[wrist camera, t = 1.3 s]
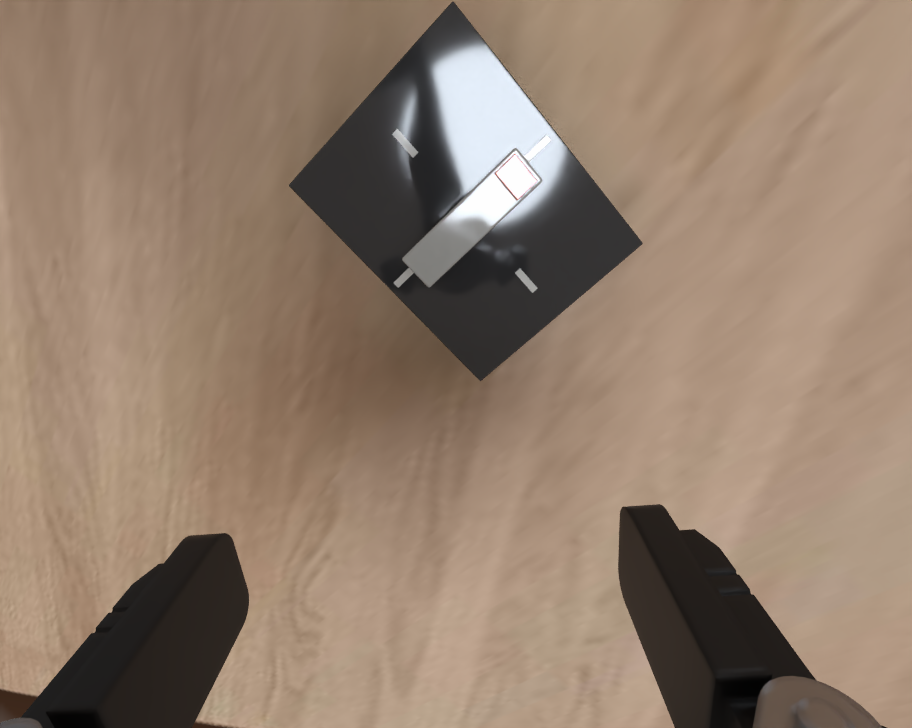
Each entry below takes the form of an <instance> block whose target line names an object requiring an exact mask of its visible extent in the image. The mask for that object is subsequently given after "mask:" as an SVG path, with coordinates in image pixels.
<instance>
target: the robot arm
mask: <svg viewBox="0 0 912 728" xmlns="http://www.w3.org/2000/svg"><path fill="white" fill-rule="evenodd" d="M618 571H619V580H620V586H621V591H622V595H623V598H624V601H625V604H626V606H627V609H628V611H629V614H630V616H631V619H632V621H633V624H634V626H635V629H636V631H637V634H638V636H639V639H640V641H641V644H642V646H643V649H644V651H645V654H646V656H647V659H648V661H649V664H650V666H651V669H652V671H653V674H654V676H655V679H656V681H657V684H658V686H659V689H660V691H661V694H662V696H663V699H664V701H665V704H666V706H667V709H668V711H669V714H670V716H671V719H672V721H673V724H674V726H675V728H886V727H884V726H881V725H880V724H879V723H878V722H877V721H876V720H875V719H874V718H873V716H872V715H871V714H870V713H869V712H867V711H866V710H865V709H864V708H863V707H862V706H861V705H860V704H858V703H857V702H855V701H854V700H853V699H851V698H850V697H849V696H847V695H845V694H844V693H842V692H840V691H839V690H837V689H835V688H833V687H831V686H829V685H827V684H824V683H822V682H819V681H817V680H816V679H815V678H814V677H813V675H812V674H811V673H810V672H809V670H808V669H807V667H806V666H805V665H804V663H803V662H802V661H801V659H800V658H799V656H798V655H797V654H796V652H795V651H794V650H793V648H792V647H791V645H790V644H789V643H788V641H787V640H786V639H785V637H784V636H783V634H782V633H781V632H780V630H779V629H778V628H777V626H776V625H775V623H774V622H773V621H772V619H771V618H770V617H769V615H768V614H767V612H766V611H765V610H764V608H763V607H762V606H761V604H760V603H759V601H758V600H757V599H756V597H755V596H754V595H751V593H750V589H749V588H748V586H747V585H746V584H745V582H744V581H743V579H742V578H741V577H740V575H737V574H736V570H735V568H734V567H733V566H732V564H731V563H730V562H729V560H728V559H727V557H726V556H725V555H724V553H723V552H722V551H721V549H720V548H719V547H718V546H716V545H715V544H714V543H712V542H711V541H710V540H708V539H707V538H706V537H704V536H703V535H702V534H700V533H699V532H697V531H696V530H695V529H693V530H679V529H678V527H677V526H676V524H675V523H674V521H673V520H672V518H671V516H670V515H669V513H668V512H667V510H666V509H665V508H664V506H662V505H660V504H658V505H644V506H629V507H622V509H621V511H620V528H619V562H618ZM248 606H249V594H248V589H247V585H246V582H245V579H244V575H243V572H242V569H241V565H240V562H239V559H238V556H237V552H236V549H235V546H234V542H233V540H232V538H231V537H230V535H228V534H226V533H222V534H207V535H193V536H188V537H186V538H185V539H183V540H182V541H181V543H180V544H179V545H178V546H177V548H176V549H175V550H174V551H173V553H172V554H171V555H170V556H169V558H168V559H167V560H166V561H165V563H164V564H158V565H157V566H156V567H154V568H153V569H152V570H150V571H149V572H148V573H147V574H145V575H144V576H143V577H141V578H140V579H139V580H138V581H136V582H135V583H134V584H132V585H131V587H130V588H129V589H128V590H127V591H126V593H125V594H124V595H123V596H122V597H121V599H120V600H119V601H118V602H117V603H116V605H115V606H114V607H113V611H112V613H108V614H107V615H106V617H105V618H104V619H103V620H102V621H101V622H100V624H99V625H98V626H97V627H96V632H95V633H91V634H90V636H89V637H88V638H87V639H86V640H85V642H84V643H83V644H82V645H81V646H80V648H79V649H78V650H77V651H76V652H75V654H74V655H73V656H72V657H71V658H70V659H69V661H68V662H67V663H66V664H65V665H64V667H63V668H62V669H61V670H60V671H59V673H58V674H57V675H56V676H55V677H54V679H53V680H52V681H51V682H50V683H49V685H48V686H47V687H46V688H45V689H44V691H43V692H42V693H41V694H40V695H39V696H38V698H37V699H36V700H35V701H34V702H33V704H32V705H31V706H30V707H29V709H28V710H27V711H26V712H25V713H24V714H23V716H22V717H21V718H16V719H12V720H7V721H5V722H2V723H0V728H192V726H193V724H194V722H195V720H196V718H197V716H198V714H199V712H200V710H201V708H202V706H203V704H204V702H205V700H206V698H207V696H208V694H209V692H210V691H211V689H212V687H213V685H214V683H215V681H216V679H217V677H218V675H219V673H220V671H221V669H222V667H223V665H224V663H225V661H226V659H227V657H228V655H229V653H230V651H231V649H232V647H233V645H234V643H235V641H236V639H237V637H238V635H239V633H240V631H241V629H242V627H243V625H244V622H245V620H246V616H247V612H248Z"/></svg>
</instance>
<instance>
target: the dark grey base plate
mask: <svg viewBox="0 0 912 728" xmlns="http://www.w3.org/2000/svg"><path fill="white" fill-rule="evenodd" d="M514 148H517V149H518V150H519V151H520V152H521V154H522V155H523V156H524V157H525V159H526V160H527V161H528V162H529V163H530V165H531V166H532V167H533V168H534V170H535V171H536V172H537V173H538V175H539V176H540V177H541V178H542V182H541V183H540V184H539V185H538V186H537V187H536V188H535V189H534V190H533V191H532V192H531V193H530V194H529V195H528V196H527V197H526V198H525V199H523V200H522V201H521V202H520V203H519V204H518V205H517V206H516V207H515V208H514V209H513V210H512V211H511V212H510V213H509V214H508V215H506V216H505V217H504V218H503V219H502V220H501V221H500V222H499V223H498V224H497V225H496V226H495V227H494V228H493V229H492V230H491V231H489V232H488V233H487V234H486V235H485V236H484V237H483V238H482V239H481V240H480V241H479V242H478V243H477V244H476V245H475V246H474V247H472V248H471V249H470V250H469V251H468V252H467V253H466V254H465V255H464V256H463V257H462V258H461V259H460V260H459V261H458V262H457V263H456V264H454V265H453V266H452V267H451V268H450V269H449V270H448V271H447V272H446V273H445V274H444V275H443V276H442V277H441V278H440V279H439V280H437V281H436V282H435V283H434V284H433V285H432V286H431V287H427V286H426V285H425V284H424V283H423V282H422V281H421V280H420V279H419V278H418V276H417V275H416V274H415V273H414V272H413V271H412V270H411V269H410V268H409V267H408V266H407V265H406V264H405V263H404V262H403V260H402V258H403V257H404V256H405V255H406V253H407V252H408V251H409V250H410V249H411V248H412V247H413V246H414V245H415V244H416V243H417V242H418V241H419V240H420V239H421V238H422V237H423V236H424V235H425V234H426V233H427V232H428V231H429V230H430V229H431V228H432V227H433V226H434V225H435V224H436V223H437V222H438V221H439V220H440V219H441V218H442V217H443V216H444V215H445V214H446V213H447V212H448V211H449V210H450V209H451V208H452V207H453V206H454V205H455V204H456V203H457V202H458V201H459V200H461V199H462V198H463V197H464V196H465V195H466V194H467V193H468V192H469V191H470V190H471V189H472V188H473V187H474V186H475V185H476V184H477V183H478V182H479V181H480V180H481V179H482V178H483V177H484V176H485V175H486V174H487V173H488V172H489V171H490V170H491V169H492V168H493V167H494V166H495V165H496V164H497V163H498V162H499V161H500V160H501V159H502V158H503V157H505V156H506V155H507V154H508V153H509V152H510V151H512V150H513V149H514ZM289 186H290V187H291V189H292V190H293V191H294V192H295V193H296V194H297V195H298V196H299V197H300V198H301V199H302V200H303V201H304V202H305V203H306V204H307V205H308V206H309V207H310V208H311V209H312V210H313V211H314V212H315V213H316V214H317V215H318V216H319V217H320V218H321V219H322V220H323V221H324V222H325V223H326V224H327V225H328V226H329V227H330V228H331V229H332V230H333V231H334V232H335V233H336V234H337V235H338V236H339V237H340V239H341V240H342V241H343V242H344V243H345V244H346V245H347V246H348V247H349V248H350V249H351V250H352V251H353V252H354V253H355V254H356V255H357V256H358V257H359V258H360V259H361V260H362V261H363V262H364V263H365V264H366V265H367V266H368V267H369V268H370V269H371V270H372V271H373V272H374V273H375V274H376V275H377V276H378V277H379V278H380V279H381V280H382V281H383V282H384V283H385V284H386V285H387V286H388V287H389V289H390V290H391V291H392V292H393V293H394V294H395V295H396V296H397V297H398V298H399V299H400V300H401V301H402V302H403V303H404V304H405V305H406V306H407V307H408V308H409V309H410V310H411V311H412V312H413V313H414V314H415V315H416V316H417V317H418V318H419V319H420V320H421V321H422V322H423V323H424V324H425V325H426V326H427V327H428V328H429V329H430V330H431V331H432V332H433V333H434V334H435V335H436V336H437V338H438V339H439V340H440V341H441V342H442V343H443V344H444V345H445V346H446V347H447V348H448V349H449V350H450V351H451V352H452V353H453V354H454V355H455V356H456V357H457V358H458V359H459V360H460V361H461V362H462V363H463V364H464V365H465V366H466V367H467V368H468V369H469V370H470V371H471V372H472V373H473V374H474V375H475V376H476V377H477V378H478V379H479V380H480V381H481V380H483V379H484V378H485V377H486V376H487V375H489V374H490V373H491V372H492V371H493V370H494V369H496V368H497V367H498V366H499V365H500V364H502V363H503V362H504V361H505V360H506V359H507V358H509V357H510V356H511V355H512V354H513V353H514V352H516V351H517V350H518V349H519V348H520V347H522V346H523V345H524V344H525V343H526V342H527V341H529V340H530V339H531V338H532V337H533V336H535V335H536V334H537V333H538V332H539V331H540V330H542V329H543V328H544V327H545V326H546V325H548V324H549V323H550V322H551V321H552V320H553V319H555V318H556V317H557V316H558V315H559V314H560V313H562V312H563V311H564V310H565V309H566V308H568V307H569V306H570V305H571V304H572V303H573V302H575V301H576V300H577V299H578V298H579V297H581V296H582V295H583V294H584V293H585V292H586V291H588V290H589V289H590V288H591V287H592V286H594V285H595V284H596V283H597V282H598V281H599V280H601V279H602V278H603V277H604V276H605V275H607V274H608V273H609V272H610V271H611V270H612V269H614V268H615V267H616V266H617V265H618V264H619V263H621V262H622V261H623V260H624V259H625V258H627V257H628V256H629V255H630V254H631V253H632V252H634V251H635V250H636V249H637V248H638V247H640V246H641V245H642V244H643V243H642V242H641V240H640V239H639V238H638V236H637V235H636V234H635V233H634V231H633V230H632V229H631V228H630V226H629V225H628V224H627V222H626V221H625V220H624V219H623V217H622V216H621V215H620V214H619V212H618V211H617V210H616V208H615V207H614V206H613V205H612V203H611V202H610V201H609V199H608V198H607V197H606V196H605V194H604V193H603V192H602V191H601V189H600V188H599V187H598V185H597V184H596V183H595V182H594V180H593V179H592V178H591V176H590V175H589V174H588V173H587V171H586V170H585V169H584V168H583V166H582V165H581V164H580V162H579V161H578V160H577V159H576V157H575V156H574V155H573V153H572V152H571V151H570V150H569V148H568V147H567V146H566V145H565V143H564V142H563V141H562V139H561V138H560V137H559V136H558V134H557V133H556V132H555V130H554V129H553V128H552V127H551V125H550V124H549V123H548V122H547V120H546V119H545V118H544V116H543V115H542V114H541V113H540V111H539V110H538V109H537V107H536V106H535V105H534V104H533V102H532V101H531V100H530V99H529V97H528V96H527V95H526V93H525V92H524V91H523V90H522V88H521V87H520V86H519V84H518V83H517V82H516V81H515V79H514V78H513V77H512V76H511V74H510V73H509V72H508V70H507V69H506V68H505V67H504V65H503V64H502V63H501V61H500V60H499V59H498V58H497V56H496V55H495V54H494V53H493V51H492V50H491V49H490V47H489V46H488V45H487V44H486V42H485V41H484V40H483V38H482V37H481V36H480V35H479V33H478V32H477V31H476V30H475V28H474V27H473V26H472V24H471V23H470V22H469V21H468V19H467V18H466V17H465V15H464V14H463V13H462V12H461V10H460V9H459V8H458V7H457V5H456V4H455V3H454V2H451V4H450V5H449V6H448V7H447V8H446V9H445V10H444V11H443V13H442V14H441V15H440V16H439V17H438V18H437V19H436V20H435V22H434V23H433V24H432V25H431V26H430V27H429V28H428V29H427V31H426V32H425V33H424V34H423V35H422V36H421V37H420V38H419V39H418V41H417V42H416V43H415V44H414V45H413V46H412V47H411V48H410V50H409V51H408V52H407V53H406V54H405V55H404V56H403V57H402V59H401V60H400V61H399V62H398V63H397V64H396V65H395V66H394V68H393V69H392V70H391V71H390V72H389V73H388V74H387V75H386V77H385V78H384V79H383V80H382V81H381V82H380V83H379V84H378V85H377V87H376V88H375V89H374V90H373V91H372V92H371V93H370V94H369V96H368V97H367V98H366V99H365V100H364V101H363V102H362V103H361V105H360V106H359V107H358V108H357V109H356V110H355V111H354V112H353V114H352V115H351V116H350V117H349V118H348V119H347V120H346V121H345V123H344V124H343V125H342V126H341V127H340V128H339V129H338V130H337V131H336V133H335V134H334V135H333V136H332V137H331V138H330V139H329V140H328V142H327V143H326V144H325V145H324V146H323V147H322V148H321V149H320V151H319V152H318V153H317V154H316V155H315V156H314V157H313V158H312V160H311V161H310V162H309V163H308V164H307V165H306V166H305V167H304V169H303V170H302V171H301V172H300V173H299V174H298V175H297V176H296V177H295V179H294V180H293V181H292V182H291V183H290V184H289Z"/></svg>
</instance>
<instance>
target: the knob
mask: <svg viewBox="0 0 912 728" xmlns="http://www.w3.org/2000/svg"><path fill="white" fill-rule="evenodd" d="M541 182H542V178H541V177H540V176H539V175H538V173H537V172H536V171H535V170H534V168H533V167H532V166H531V165H530V163H529V162H528V161H527V160H526V159H525V157H524V156H523V155H522V154H521V152H520V151H519V150H518V149H517V148H514V149H513V150H512V151H510V152H509V153H508V154H507V155H506V156H505V157H503V158H502V159H501V160H500V161H499V162H498V163H497V164H496V165H495V166H494V167H493V168H492V169H491V170H490V171H489V172H488V173H487V174H486V175H485V176H484V177H483V178H482V179H481V180H480V181H479V182H478V183H477V184H476V185H475V186H474V187H473V188H472V189H471V190H470V191H469V192H468V193H467V194H466V195H465V196H464V197H463V198H462V199H461V200H459V201H458V202H457V203H456V204H455V205H454V206H453V207H452V208H451V209H450V210H449V211H448V212H447V213H446V214H445V215H444V216H443V217H442V218H441V219H440V220H439V221H438V222H437V223H436V224H435V225H434V226H433V227H432V228H431V229H430V230H429V231H428V232H427V233H426V234H425V235H424V236H423V237H422V238H421V239H420V240H419V241H418V242H417V243H416V244H415V245H414V246H413V247H412V248H411V249H410V250H409V251H408V252H407V253H406V255H405V256H404V257H403V258H402V260H403V262H404V263H405V264H406V265H407V266H408V267H409V268H410V269H411V270H412V271H413V272H414V273H415V274H416V275H417V276H418V278H419V279H420V280H421V281H422V282H423V283H424V284H425V285H426V286H427V287H431V286H432V285H433V284H434V283H435V282H436V281H437V280H439V279H440V278H441V277H442V276H443V275H444V274H445V273H446V272H447V271H448V270H449V269H450V268H451V267H452V266H453V265H454V264H456V263H457V262H458V261H459V260H460V259H461V258H462V257H463V256H464V255H465V254H466V253H467V252H468V251H469V250H470V249H471V248H472V247H474V246H475V245H476V244H477V243H478V242H479V241H480V240H481V239H482V238H483V237H484V236H485V235H486V234H487V233H488V232H489V231H491V230H492V229H493V228H494V227H495V226H496V225H497V224H498V223H499V222H500V221H501V220H502V219H503V218H504V217H505V216H506V215H508V214H509V213H510V212H511V211H512V210H513V209H514V208H515V207H516V206H517V205H518V204H519V203H520V202H521V201H522V200H523V199H525V198H526V197H527V196H528V195H529V194H530V193H531V192H532V191H533V190H534V189H535V188H536V187H537V186H538V185H539V184H540V183H541Z"/></svg>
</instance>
